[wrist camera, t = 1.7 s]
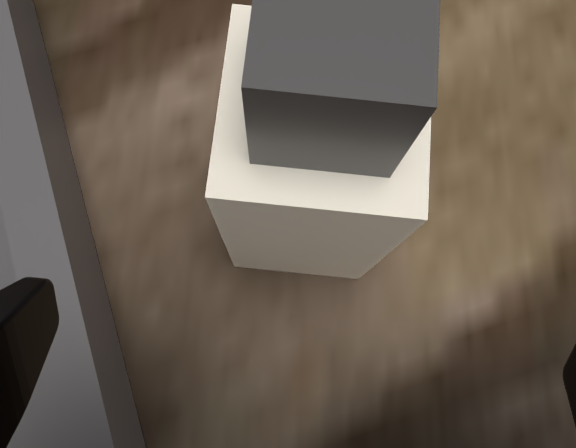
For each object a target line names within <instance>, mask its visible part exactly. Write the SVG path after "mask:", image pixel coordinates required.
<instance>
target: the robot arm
mask: <svg viewBox="0 0 576 448" xmlns="http://www.w3.org/2000/svg"><path fill="white" fill-rule="evenodd" d="M58 325H59V312H58V306H57V301H56V296H55V290H54V286H53V283H52V281H50V280H49V279H46V278H37V277H24V278H22V279H20V280H18V281H16V282H14V283H12V284H10V285H8V286H7V287H5V288H3V289H1V290H0V448H7V446H8V444H9V442H10V440H11V438H12V436H13V434H14V432H15V431H16V429H17V427H18V425H19V423H20V421H21V419H22V417H23V415H24V413H25V411H26V408H27V406H28V404H29V401H30V399H31V396H32V394H33V391H34V389H35V386H36V384H37V381H38V378H39V376H40V373H41V371H42V368H43V366H44V363H45V360H46V358H47V355H48V353H49V350H50V348H51V345H52V342H53V340H54V337H55V335H56V332H57V329H58ZM563 381H564V385H565V389H566V393H567V396H568V400H569V404H570V408H571V411H572V415H573V419H574V423H575V426H576V344H575V346H574V348H573V350H572V352H571V353H570V355H569V357H568V359H567V361H566V363H565V365H564V369H563Z"/></svg>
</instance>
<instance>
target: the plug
mask: <svg viewBox="0 0 576 448" xmlns="http://www.w3.org/2000/svg"><path fill="white" fill-rule="evenodd" d="M439 26H440V0H252V6H248V5H239V4H232V10H231V17H230V24H229V31H228V38H227V45H226V52H225V59H224V66H223V73H222V80H221V87H220V94H219V101H218V108H217V115H216V122H215V130H214V137H213V144H212V151H211V158H210V165H209V172H208V179H207V186H206V193H205V199H206V201H207V204H208V206H209V208H210V211H211V213H212V215H213V218H214V220H215V222H216V225H217V227H218V230H219V232H220V234H221V237H222V239H223V241H224V244H225V246H226V248H227V251H228V253H229V255H230V258H231V260H232V263H233V265H234V267H243V268H253V269H263V270H273V271H283V272H293V273H302V274H312V275H322V276H332V277H342V278H352V279H359V278H361V277H362V276H363V275H364V274H365V273H366V272H368V271H369V270H370V269H371V268H372V267H373V266H375V265H376V264H377V263H378V262H379V261H380V260H382V259H383V258H384V257H385V256H386V255H387V254H389V253H390V252H391V251H392V250H393V249H395V248H396V247H397V246H398V245H399V244H400V243H402V242H403V241H404V240H405V239H406V238H407V237H409V236H410V235H411V234H412V233H413V232H414V231H416V230H417V229H418V228H419V227H420V226H421V225H423V224H424V223H425V222H426V221H427V220H428V195H429V165H430V134H431V116H432V114H433V113H434V111H435V110H436V108H437V94H438V60H439Z"/></svg>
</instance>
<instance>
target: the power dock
mask: <svg viewBox="0 0 576 448" xmlns="http://www.w3.org/2000/svg"><path fill="white" fill-rule="evenodd" d="M24 277H37V278H46V279H49V280H50V281H52V283H53V286H54V290H55V296H56V301H57V306H58V312H59V325H58V329H57V332H56V335H55V337H54V340H53V342H52V345H51V348H50V350H49V353H48V355H47V358H46V360H45V363H44V366H43V368H42V371H41V373H40V376H39V378H38V381H37V384H36V386H35V389H34V391H33V394H32V396H31V399H30V401H29V404H28V406H27V408H26V411H25V413H24V415H23V417H22V419H21V421H20V423H19V425H18V427H17V429H16V431H15V432H14V434H13V436H12V438H11V440H10V442H9V444H8V446H7V448H146V446H145V442H144V438H143V434H142V430H141V426H140V422H139V418H138V414H137V410H136V406H135V402H134V398H133V394H132V390H131V386H130V382H129V378H128V374H127V370H126V366H125V362H124V359H123V355H122V351H121V347H120V343H119V339H118V335H117V331H116V327H115V323H114V319H113V315H112V311H111V307H110V303H109V299H108V295H107V291H106V287H105V283H104V279H103V275H102V271H101V267H100V263H99V259H98V255H97V252H96V248H95V244H94V240H93V236H92V232H91V228H90V224H89V220H88V216H87V212H86V208H85V204H84V200H83V196H82V192H81V188H80V184H79V180H78V176H77V172H76V168H75V164H74V160H73V156H72V152H71V148H70V145H69V141H68V137H67V133H66V129H65V125H64V121H63V117H62V113H61V109H60V105H59V101H58V97H57V93H56V89H55V85H54V81H53V77H52V73H51V69H50V65H49V61H48V57H47V53H46V49H45V45H44V41H43V38H42V34H41V30H40V26H39V22H38V18H37V14H36V10H35V6H34V3H33V1H32V0H0V290H1V289H3V288H5V287H7V286H8V285H10V284H12V283H14V282H16V281H18V280H20V279H22V278H24Z"/></svg>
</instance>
